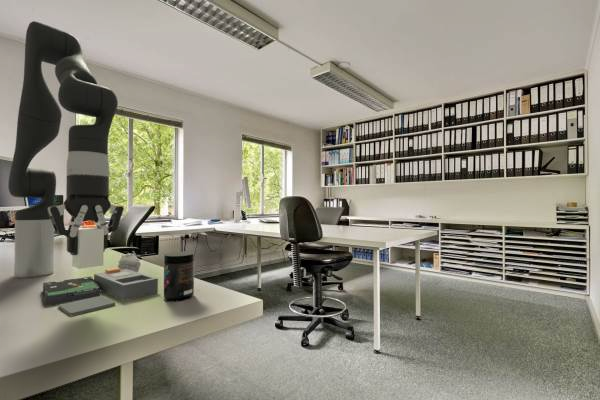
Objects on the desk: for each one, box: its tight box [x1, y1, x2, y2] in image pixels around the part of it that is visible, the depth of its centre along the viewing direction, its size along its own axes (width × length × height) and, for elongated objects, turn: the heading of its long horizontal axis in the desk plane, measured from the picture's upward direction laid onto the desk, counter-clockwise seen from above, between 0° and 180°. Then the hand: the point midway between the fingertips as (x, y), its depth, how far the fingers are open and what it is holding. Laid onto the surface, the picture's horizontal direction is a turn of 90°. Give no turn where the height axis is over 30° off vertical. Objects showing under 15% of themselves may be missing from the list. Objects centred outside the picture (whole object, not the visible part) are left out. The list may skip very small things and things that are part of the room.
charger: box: [71, 227, 105, 270], centre depth 65 cm, size 4×4×8 cm
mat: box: [57, 295, 116, 317], centre depth 64 cm, size 8×8×1 cm
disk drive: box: [42, 276, 101, 307], centre depth 74 cm, size 10×3×15 cm
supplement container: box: [163, 251, 195, 302], centre depth 71 cm, size 7×7×10 cm
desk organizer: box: [93, 267, 159, 301], centre depth 79 cm, size 24×8×4 cm, turn 53°
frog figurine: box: [117, 253, 142, 273], centre depth 91 cm, size 6×7×7 cm
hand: (87, 252), depth 65 cm, fingers closed on charger, 4 cm apart
